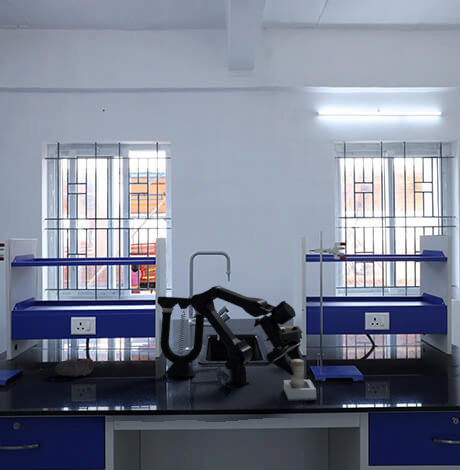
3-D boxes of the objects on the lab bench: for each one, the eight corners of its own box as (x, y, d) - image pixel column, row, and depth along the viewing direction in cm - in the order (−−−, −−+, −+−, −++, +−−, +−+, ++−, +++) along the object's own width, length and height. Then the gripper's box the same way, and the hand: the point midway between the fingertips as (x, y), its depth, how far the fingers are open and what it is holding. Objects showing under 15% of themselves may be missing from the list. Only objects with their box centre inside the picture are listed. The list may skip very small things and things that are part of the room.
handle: (284, 359, 183) (284, 325, 183) (299, 359, 183) (298, 325, 183) (286, 363, 179) (285, 328, 179) (301, 362, 178) (300, 328, 178)
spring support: (206, 372, 169) (210, 298, 173) (199, 379, 157) (204, 299, 161) (157, 368, 173) (163, 295, 176) (147, 374, 161) (153, 296, 164)
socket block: (288, 400, 139) (288, 390, 139) (283, 390, 148) (283, 380, 148) (316, 399, 139) (316, 389, 139) (310, 389, 148) (309, 379, 148)
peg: (289, 390, 145) (289, 359, 145) (300, 389, 147) (300, 358, 146) (294, 395, 141) (294, 363, 141) (306, 394, 142) (306, 362, 142)
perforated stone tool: (52, 378, 165) (52, 360, 165) (59, 373, 170) (58, 356, 170) (89, 378, 164) (88, 360, 164) (94, 374, 169) (94, 356, 169)
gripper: (279, 325, 137) (306, 367, 132) (299, 315, 153) (323, 352, 149) (255, 341, 141) (280, 383, 137) (276, 329, 158) (300, 366, 153)
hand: (297, 370), depth 144 cm, fingers open, 9 cm apart
